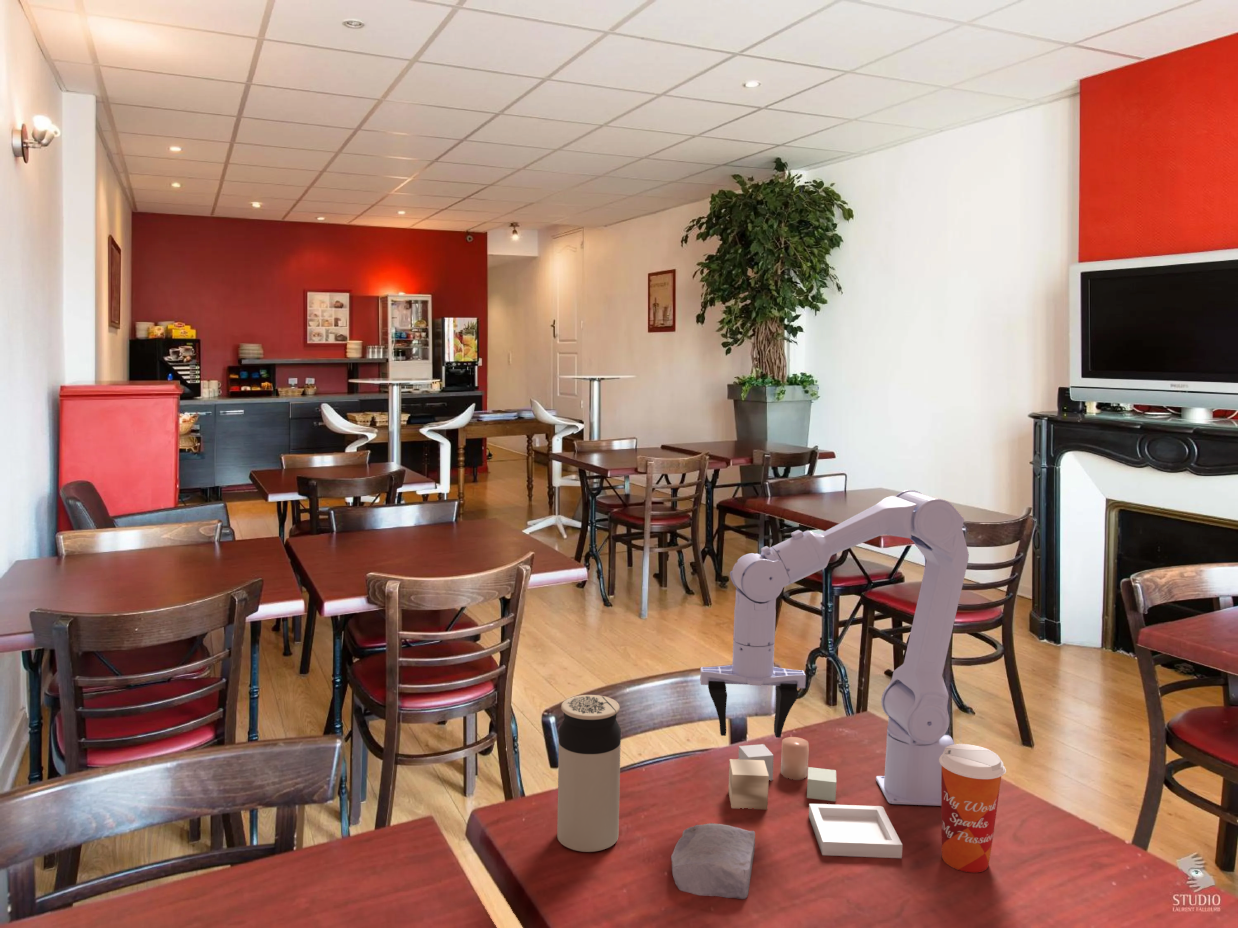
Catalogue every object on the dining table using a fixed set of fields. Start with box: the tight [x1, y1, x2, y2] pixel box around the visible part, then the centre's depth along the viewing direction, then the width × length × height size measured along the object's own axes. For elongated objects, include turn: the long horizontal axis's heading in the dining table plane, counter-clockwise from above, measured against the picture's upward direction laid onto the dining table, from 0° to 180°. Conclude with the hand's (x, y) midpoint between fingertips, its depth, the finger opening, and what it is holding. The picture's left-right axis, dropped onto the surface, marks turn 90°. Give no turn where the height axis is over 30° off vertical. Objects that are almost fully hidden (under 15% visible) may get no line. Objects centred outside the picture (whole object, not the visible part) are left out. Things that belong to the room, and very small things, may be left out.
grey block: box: [737, 743, 775, 781], centre depth 138 cm, size 4×4×4 cm
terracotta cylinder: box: [780, 736, 810, 781], centre depth 138 cm, size 4×4×5 cm
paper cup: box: [939, 743, 1007, 874], centre depth 115 cm, size 8×8×14 cm
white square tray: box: [808, 803, 903, 859], centre depth 121 cm, size 10×10×2 cm
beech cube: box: [728, 758, 770, 810], centre depth 130 cm, size 5×5×5 cm
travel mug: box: [556, 694, 622, 853], centre depth 118 cm, size 8×8×18 cm
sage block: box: [806, 766, 837, 802], centre depth 133 cm, size 4×4×3 cm
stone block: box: [670, 822, 756, 900], centre depth 112 cm, size 12×5×10 cm
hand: (750, 733), depth 129 cm, fingers open, 7 cm apart
